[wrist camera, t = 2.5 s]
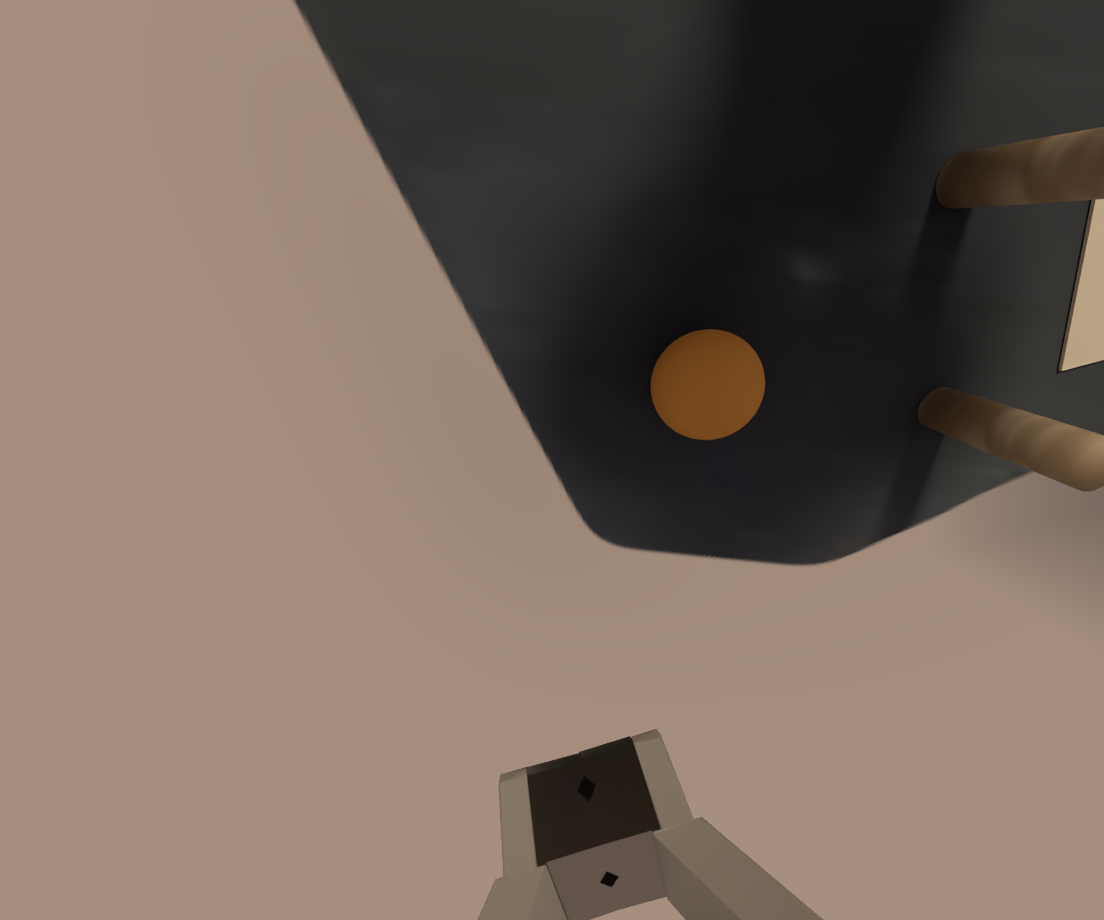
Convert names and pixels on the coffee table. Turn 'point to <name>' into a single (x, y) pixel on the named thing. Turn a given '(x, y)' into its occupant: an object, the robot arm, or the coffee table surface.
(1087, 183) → the post
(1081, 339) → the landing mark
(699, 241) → the coffee table surface
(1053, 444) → the post
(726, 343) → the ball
